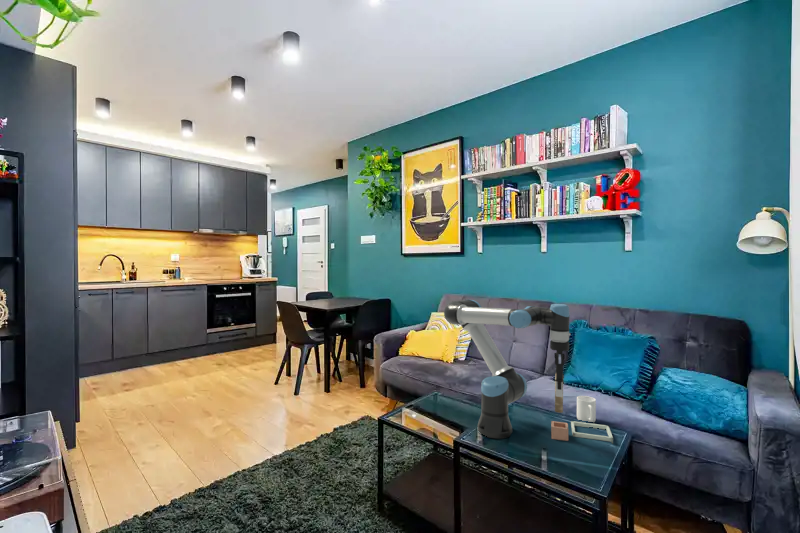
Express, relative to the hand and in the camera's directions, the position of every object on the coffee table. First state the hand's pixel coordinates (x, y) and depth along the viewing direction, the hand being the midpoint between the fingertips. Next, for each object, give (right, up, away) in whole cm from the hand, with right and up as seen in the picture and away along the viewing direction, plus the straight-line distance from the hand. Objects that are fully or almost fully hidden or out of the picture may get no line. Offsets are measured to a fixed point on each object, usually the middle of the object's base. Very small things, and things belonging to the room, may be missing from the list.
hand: (558, 394), depth 171 cm
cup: (+21, -19, +19) cm, 34 cm away
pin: (0, -7, 0) cm, 7 cm away
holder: (0, -19, 0) cm, 19 cm away
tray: (+16, -19, +4) cm, 25 cm away
